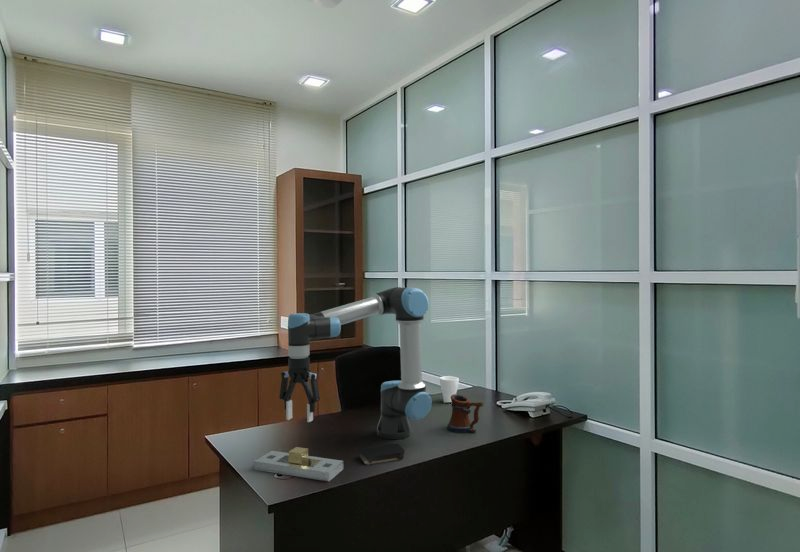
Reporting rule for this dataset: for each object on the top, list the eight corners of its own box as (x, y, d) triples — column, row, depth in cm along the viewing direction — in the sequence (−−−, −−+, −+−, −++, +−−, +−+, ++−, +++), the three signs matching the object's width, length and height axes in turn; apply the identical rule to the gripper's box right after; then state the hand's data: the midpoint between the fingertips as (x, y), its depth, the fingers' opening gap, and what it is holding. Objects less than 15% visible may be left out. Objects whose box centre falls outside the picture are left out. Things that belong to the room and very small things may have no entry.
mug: (489, 432, 213) (490, 398, 213) (474, 438, 205) (474, 403, 205) (457, 423, 226) (457, 391, 226) (442, 428, 218) (442, 396, 218)
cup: (461, 401, 266) (461, 377, 266) (455, 406, 256) (455, 380, 256) (443, 399, 270) (443, 375, 270) (436, 403, 260) (437, 379, 260)
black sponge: (397, 452, 189) (397, 443, 189) (405, 460, 181) (405, 450, 181) (357, 458, 183) (357, 448, 183) (364, 466, 175) (364, 456, 175)
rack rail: (343, 469, 172) (343, 460, 172) (329, 481, 162) (329, 472, 162) (271, 458, 182) (271, 450, 182) (254, 469, 171) (254, 460, 171)
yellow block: (308, 467, 173) (308, 448, 173) (301, 473, 168) (301, 453, 168) (296, 466, 175) (296, 447, 175) (288, 471, 170) (288, 451, 170)
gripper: (329, 356, 172) (330, 419, 172) (280, 353, 179) (280, 414, 179) (319, 359, 165) (320, 425, 165) (268, 357, 172) (268, 420, 172)
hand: (299, 419), depth 172 cm, fingers open, 8 cm apart
